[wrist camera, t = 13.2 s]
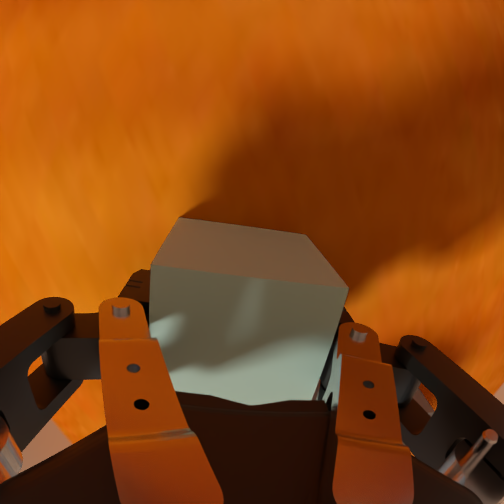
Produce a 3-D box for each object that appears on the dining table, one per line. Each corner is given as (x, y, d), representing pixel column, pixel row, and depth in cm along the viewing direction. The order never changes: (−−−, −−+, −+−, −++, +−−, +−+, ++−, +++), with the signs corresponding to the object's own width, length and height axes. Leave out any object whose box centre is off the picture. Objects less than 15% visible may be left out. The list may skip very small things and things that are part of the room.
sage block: (179, 217, 12) (150, 264, 8) (305, 234, 13) (349, 288, 8) (170, 328, 14) (150, 408, 9) (281, 340, 14) (303, 420, 10)
